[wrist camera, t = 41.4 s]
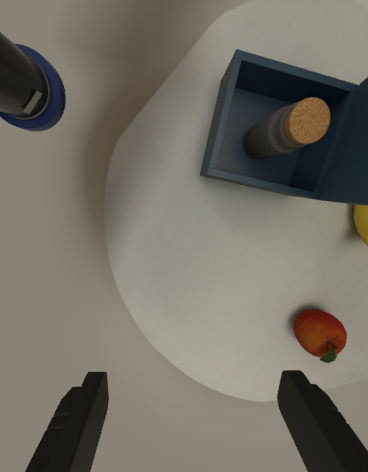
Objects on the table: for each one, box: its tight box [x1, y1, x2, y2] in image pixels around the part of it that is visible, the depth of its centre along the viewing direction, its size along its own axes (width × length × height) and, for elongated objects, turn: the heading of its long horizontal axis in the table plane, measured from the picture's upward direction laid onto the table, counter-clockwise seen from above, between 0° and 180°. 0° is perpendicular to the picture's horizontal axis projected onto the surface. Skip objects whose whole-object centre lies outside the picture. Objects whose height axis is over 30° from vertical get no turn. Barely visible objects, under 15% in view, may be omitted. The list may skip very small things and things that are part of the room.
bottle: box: [243, 97, 330, 159], centre depth 31 cm, size 6×6×15 cm
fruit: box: [294, 309, 347, 363], centre depth 45 cm, size 10×10×10 cm
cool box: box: [200, 49, 359, 200], centre depth 35 cm, size 18×16×9 cm
